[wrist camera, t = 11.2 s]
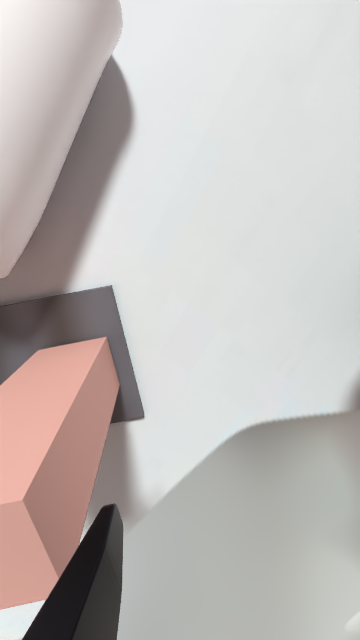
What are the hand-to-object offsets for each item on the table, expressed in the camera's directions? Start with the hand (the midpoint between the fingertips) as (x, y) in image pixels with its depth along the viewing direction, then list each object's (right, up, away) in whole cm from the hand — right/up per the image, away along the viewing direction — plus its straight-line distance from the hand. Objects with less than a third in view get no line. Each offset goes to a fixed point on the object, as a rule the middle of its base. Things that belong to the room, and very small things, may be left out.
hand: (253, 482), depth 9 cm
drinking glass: (-7, +22, +4) cm, 23 cm away
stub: (-10, +2, +12) cm, 16 cm away
